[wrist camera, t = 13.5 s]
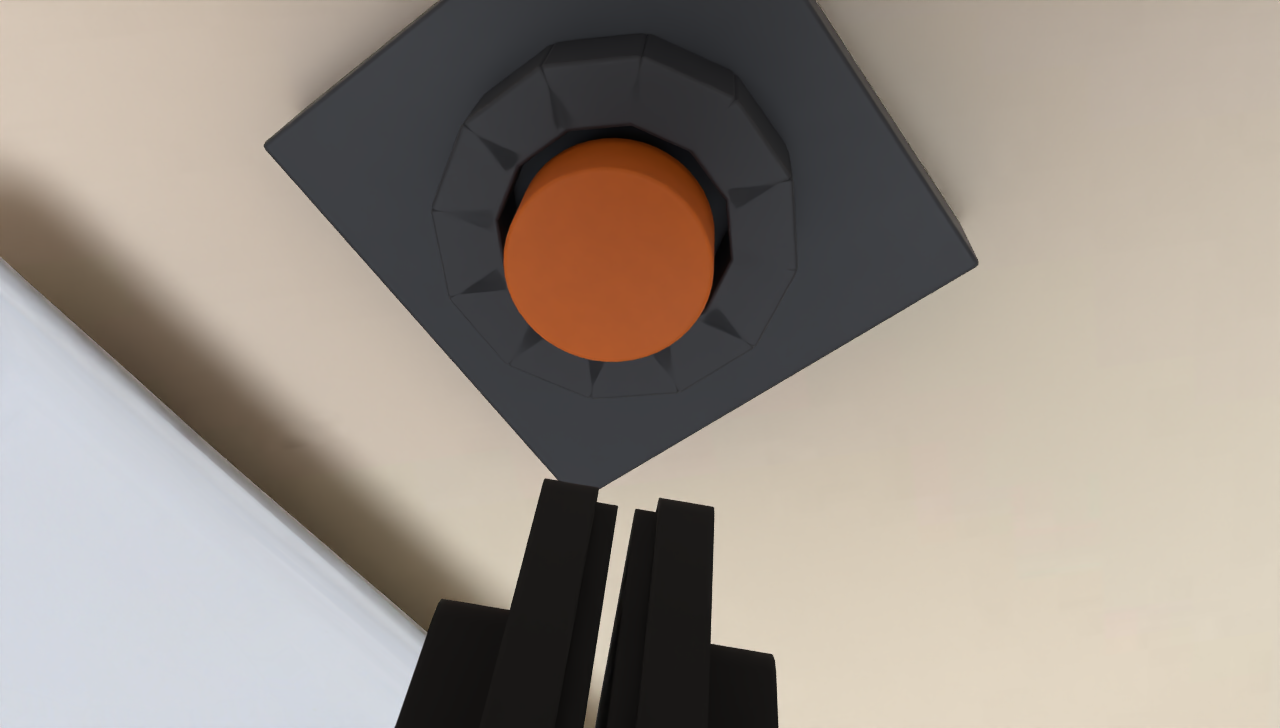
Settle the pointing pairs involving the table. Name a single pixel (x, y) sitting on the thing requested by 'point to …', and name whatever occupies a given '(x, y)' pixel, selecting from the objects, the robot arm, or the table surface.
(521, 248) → the button
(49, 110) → the table surface
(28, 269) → the table surface
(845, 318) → the button block
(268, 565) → the tray
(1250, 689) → the table surface
